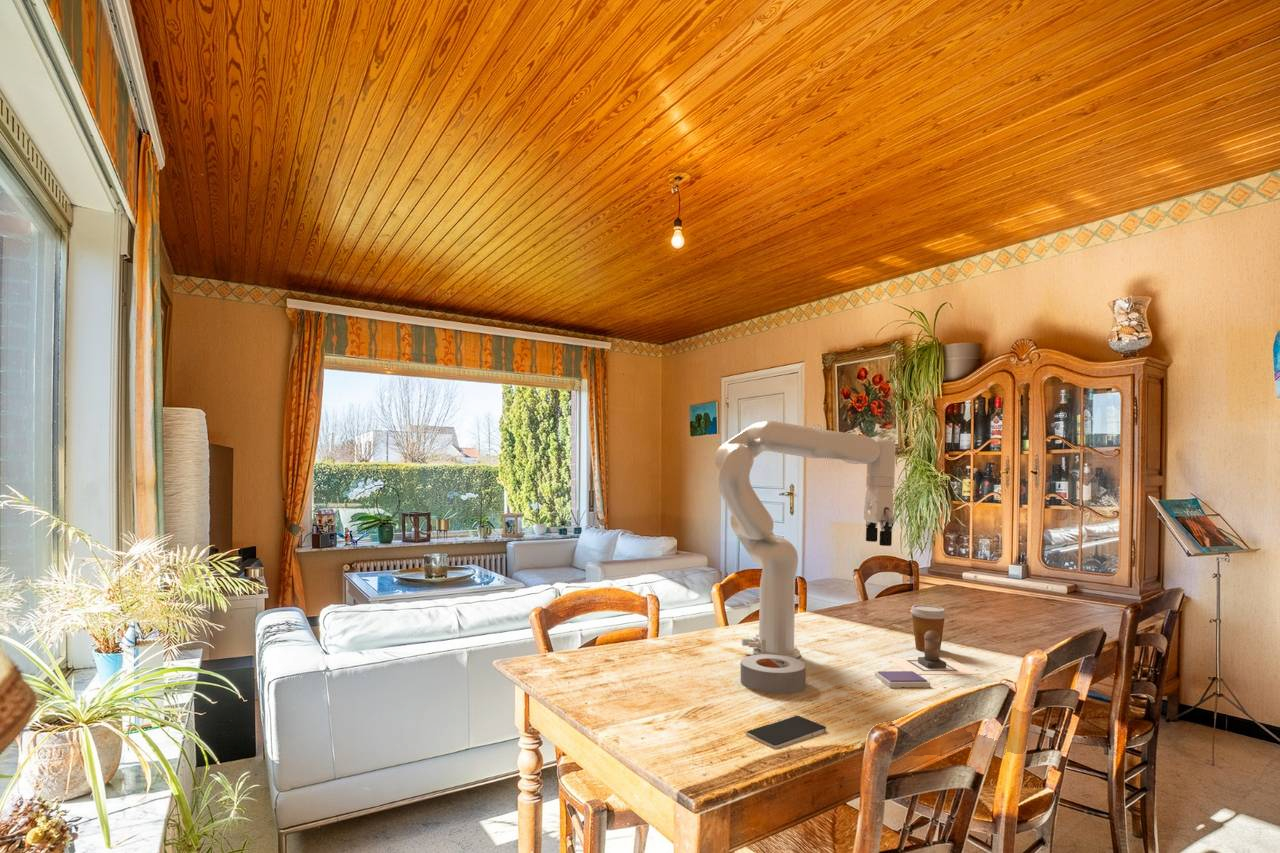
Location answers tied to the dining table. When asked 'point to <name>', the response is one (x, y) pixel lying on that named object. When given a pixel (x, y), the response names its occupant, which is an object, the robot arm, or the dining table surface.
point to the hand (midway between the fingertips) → (878, 543)
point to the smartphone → (786, 731)
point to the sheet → (919, 669)
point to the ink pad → (901, 679)
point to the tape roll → (773, 674)
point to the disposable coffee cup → (926, 623)
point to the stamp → (932, 651)
